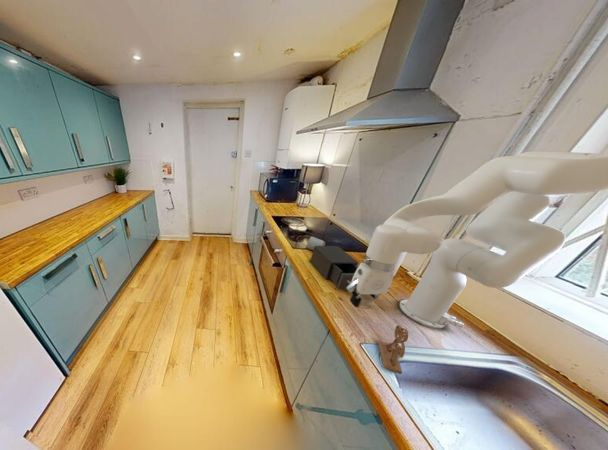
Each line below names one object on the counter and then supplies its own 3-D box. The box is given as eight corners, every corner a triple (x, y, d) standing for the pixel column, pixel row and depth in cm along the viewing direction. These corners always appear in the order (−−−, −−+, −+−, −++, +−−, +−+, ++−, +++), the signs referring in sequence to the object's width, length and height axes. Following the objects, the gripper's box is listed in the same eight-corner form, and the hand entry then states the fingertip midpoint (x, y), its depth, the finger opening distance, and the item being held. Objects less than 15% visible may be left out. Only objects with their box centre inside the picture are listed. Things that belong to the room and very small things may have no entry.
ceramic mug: (320, 255, 112) (324, 243, 108) (305, 250, 116) (308, 238, 113) (324, 248, 119) (327, 236, 116) (309, 243, 124) (312, 232, 121)
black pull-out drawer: (372, 297, 81) (379, 282, 78) (345, 297, 81) (351, 283, 78) (342, 270, 98) (347, 256, 95) (320, 270, 98) (324, 256, 94)
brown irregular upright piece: (401, 374, 56) (421, 347, 51) (384, 367, 57) (402, 340, 52) (392, 347, 63) (409, 321, 58) (377, 342, 65) (392, 316, 60)
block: (361, 299, 73) (365, 290, 71) (371, 309, 69) (375, 299, 67) (350, 299, 73) (353, 290, 71) (358, 309, 69) (362, 300, 67)
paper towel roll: (386, 277, 95) (406, 238, 86) (375, 269, 101) (393, 232, 92) (400, 276, 96) (421, 238, 87) (388, 269, 101) (407, 232, 92)
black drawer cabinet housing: (351, 279, 93) (358, 262, 89) (325, 279, 93) (331, 262, 89) (332, 261, 107) (338, 245, 103) (310, 261, 106) (314, 245, 102)
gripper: (361, 270, 60) (344, 313, 67) (415, 268, 60) (392, 311, 68) (345, 256, 67) (331, 296, 74) (393, 255, 67) (374, 295, 75)
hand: (360, 303), depth 71 cm, fingers closed on block, 4 cm apart
